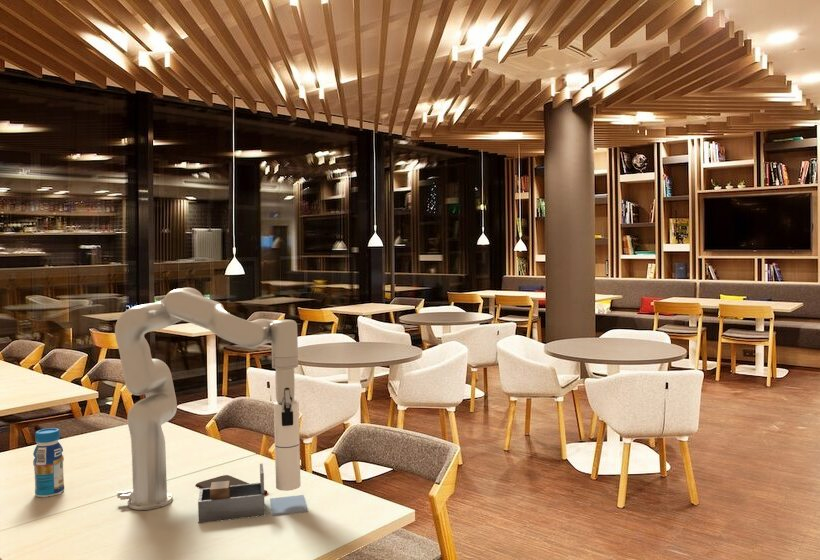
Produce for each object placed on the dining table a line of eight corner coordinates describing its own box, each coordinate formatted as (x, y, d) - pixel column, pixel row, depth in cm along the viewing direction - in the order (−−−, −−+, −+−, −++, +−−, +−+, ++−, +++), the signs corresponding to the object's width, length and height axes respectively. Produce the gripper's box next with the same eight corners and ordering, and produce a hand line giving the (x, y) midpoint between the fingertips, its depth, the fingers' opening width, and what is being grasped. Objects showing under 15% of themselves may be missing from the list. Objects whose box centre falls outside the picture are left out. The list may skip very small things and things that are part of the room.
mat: (272, 515, 186) (272, 513, 186) (270, 500, 198) (270, 498, 198) (307, 511, 189) (307, 509, 189) (303, 496, 201) (303, 494, 201)
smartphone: (227, 473, 221) (269, 490, 204) (227, 478, 221) (269, 495, 204) (193, 483, 212) (234, 501, 195) (193, 487, 212) (234, 506, 195)
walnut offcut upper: (210, 503, 185) (209, 489, 185) (212, 495, 191) (211, 482, 191) (228, 501, 186) (228, 487, 186) (229, 494, 192) (229, 480, 192)
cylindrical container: (271, 488, 191) (268, 404, 190) (284, 480, 198) (282, 398, 197) (292, 491, 189) (289, 406, 188) (305, 483, 195) (303, 400, 194)
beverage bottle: (30, 493, 207) (28, 431, 206) (59, 486, 213) (56, 425, 212) (39, 500, 201) (37, 435, 200) (69, 492, 207) (66, 430, 207)
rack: (198, 523, 182) (197, 480, 182) (200, 508, 192) (199, 468, 192) (264, 515, 187) (263, 474, 186) (263, 502, 197) (262, 462, 196)
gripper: (270, 358, 199) (272, 416, 200) (273, 367, 182) (275, 430, 183) (295, 356, 201) (296, 414, 202) (300, 366, 184) (302, 428, 185)
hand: (286, 421), depth 192 cm, fingers closed on cylindrical container, 7 cm apart
